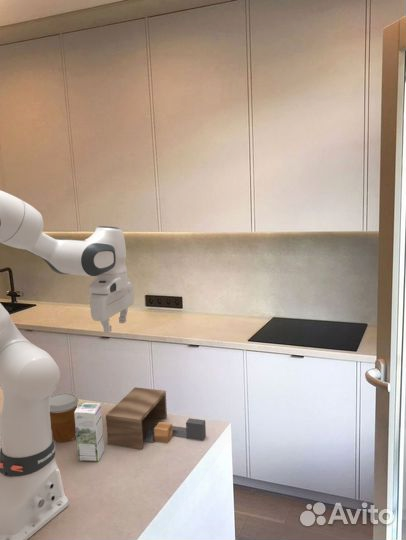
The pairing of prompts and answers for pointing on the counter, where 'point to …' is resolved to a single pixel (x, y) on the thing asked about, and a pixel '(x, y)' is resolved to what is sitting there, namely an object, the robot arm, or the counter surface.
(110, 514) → the counter surface
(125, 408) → the walnut cubby
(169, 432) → the orange block
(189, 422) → the metal crook
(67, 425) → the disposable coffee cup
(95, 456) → the syrup box
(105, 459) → the counter surface
